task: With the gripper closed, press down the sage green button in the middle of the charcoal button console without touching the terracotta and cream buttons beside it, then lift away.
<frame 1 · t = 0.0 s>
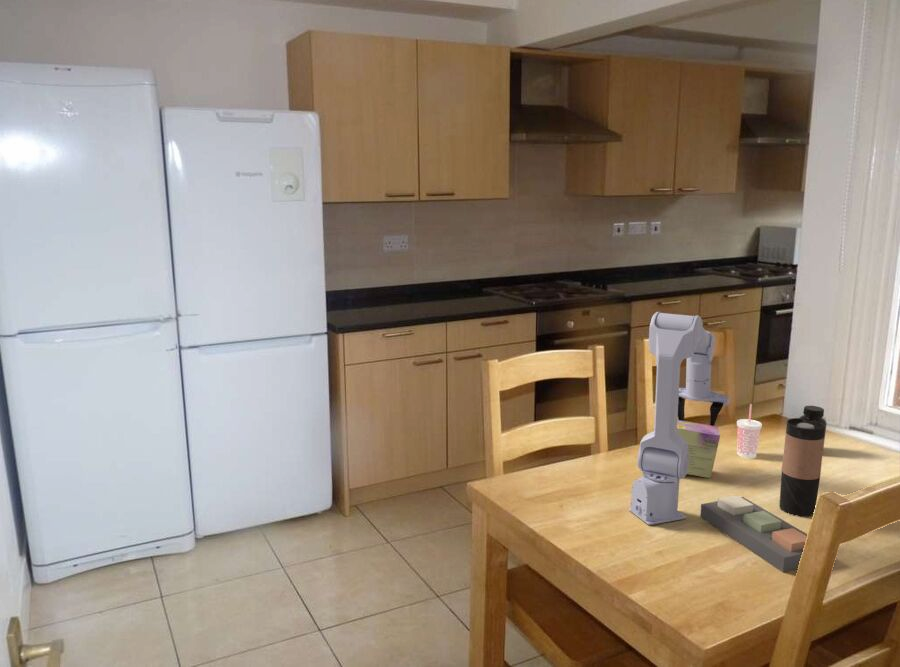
hand: (696, 426, 185), 11 cm above the table, tool pointing down, fingers open, 7 cm apart
supplement bottle: (809, 451, 197), on the table
console: (760, 538, 149), on the table
terracotta button: (791, 540, 141), point 4 cm above the table, slide at 0.0 cm
box: (687, 470, 182), point 1 cm above the table, touching gripper
beverage cup: (746, 455, 194), on the table
cream button: (735, 505, 156), point 4 cm above the table, slide at 0.0 cm
travel mug: (796, 510, 162), on the table
sage button: (762, 522, 149), point 4 cm above the table, slide at 0.0 cm
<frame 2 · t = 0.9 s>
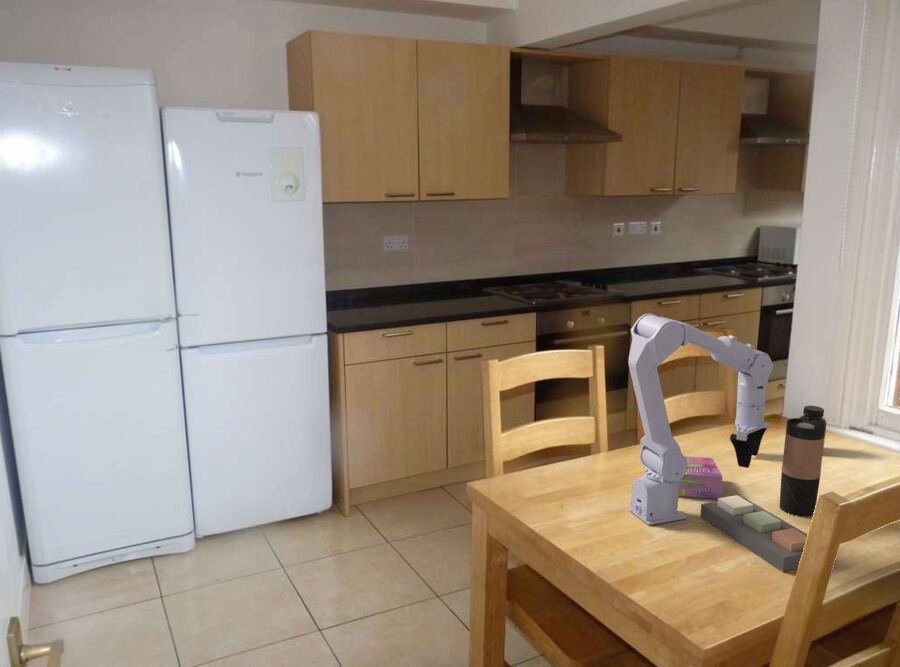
hand: (747, 460, 164), 10 cm above the table, tool pointing down, fingers open, 7 cm apart
box: (689, 466, 179), point 3 cm above the table
everything else where it was.
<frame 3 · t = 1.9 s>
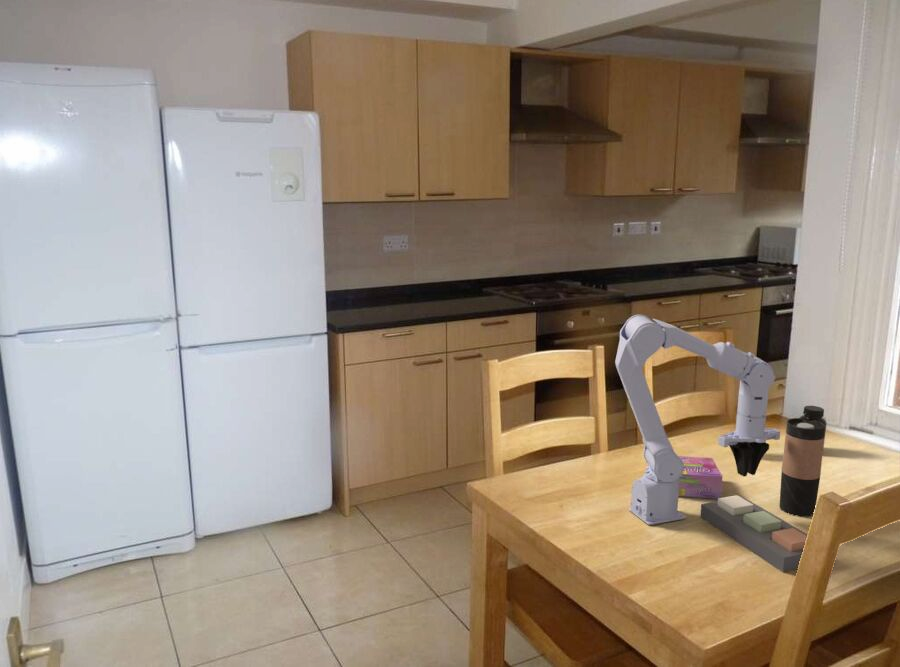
hand: (746, 473, 158), 9 cm above the table, tool pointing down, fingers closed
nothing on the table moved.
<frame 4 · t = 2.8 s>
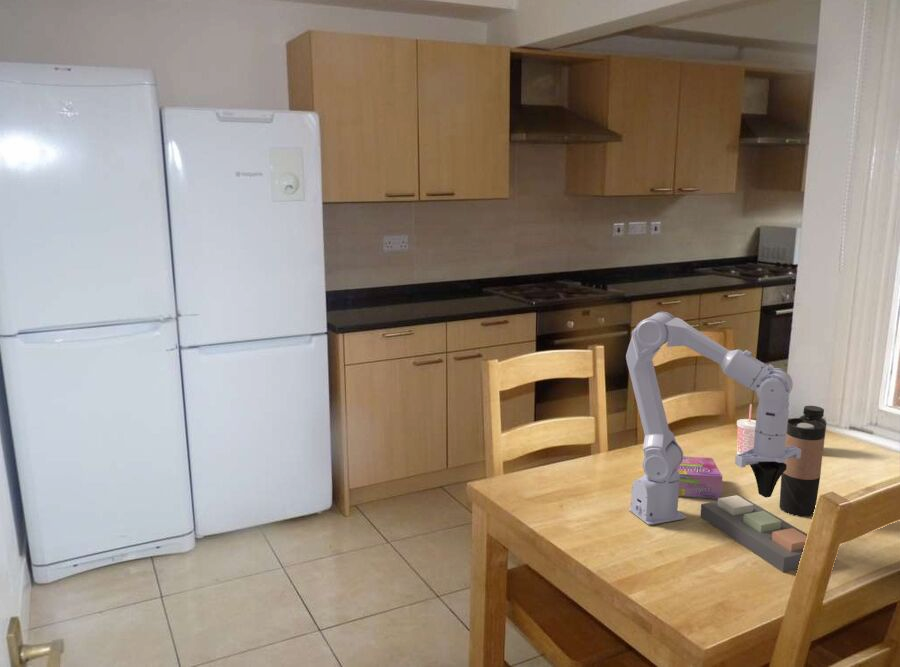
hand: (764, 495, 148), 9 cm above the table, tool pointing down, fingers closed
nothing on the table moved.
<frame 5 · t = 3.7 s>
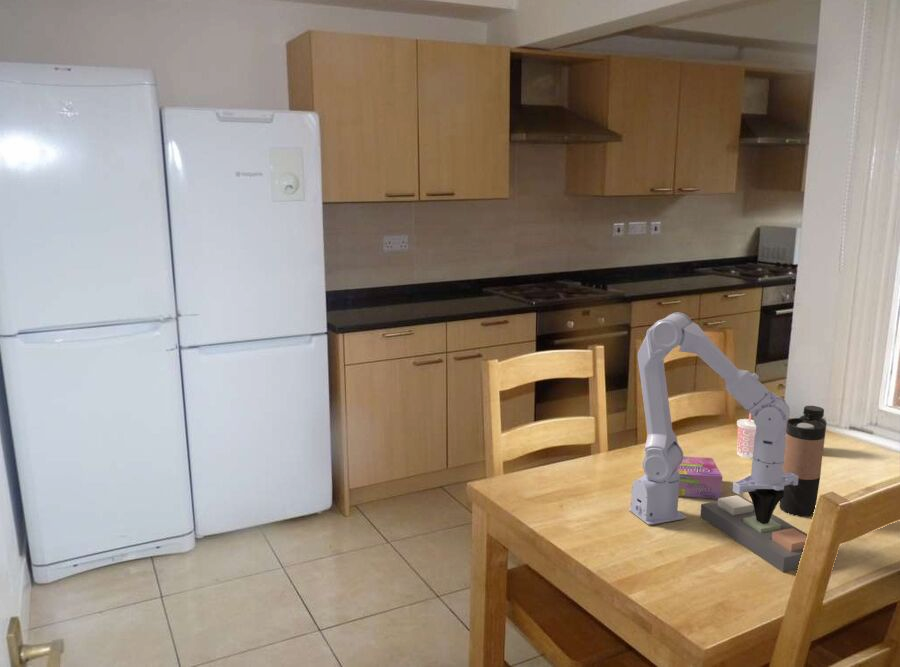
hand: (762, 521, 149), 4 cm above the table, tool pointing down, fingers closed, pressing on sage button
sage button: (761, 526, 149), point 3 cm above the table, slide at 0.8 cm, touching gripper
everything else where it was.
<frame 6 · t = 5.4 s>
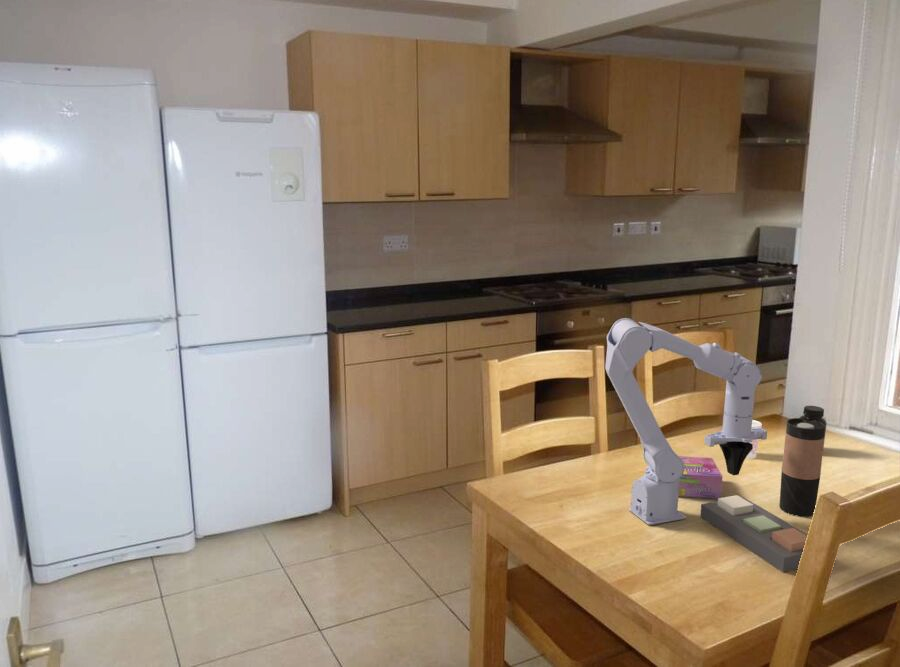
hand: (732, 473, 159), 9 cm above the table, tool pointing down, fingers closed
sage button: (761, 527, 149), point 2 cm above the table, slide at 1.0 cm
everything else where it was.
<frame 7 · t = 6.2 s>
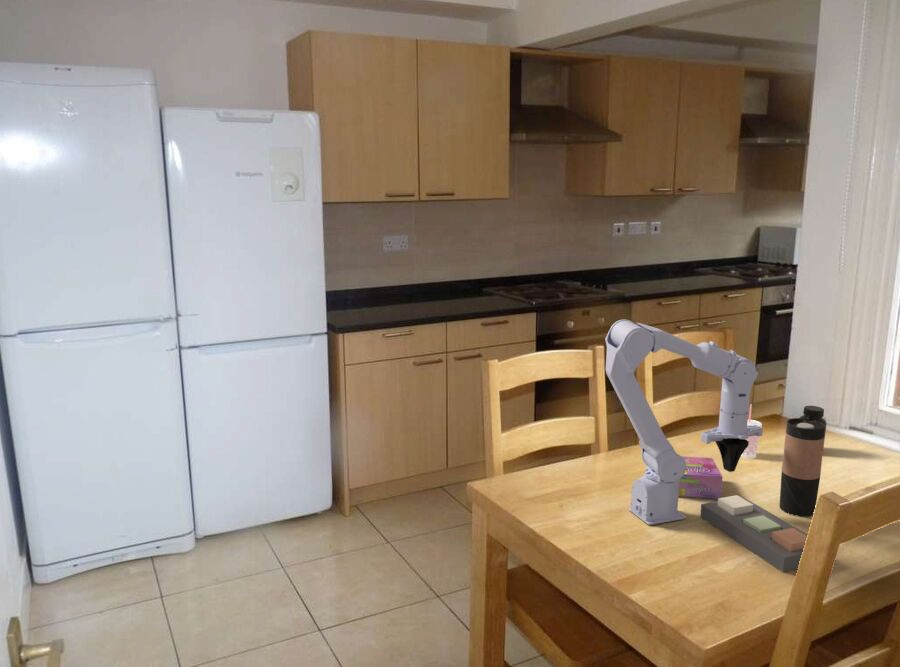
hand: (729, 470, 160), 9 cm above the table, tool pointing down, fingers closed
nothing on the table moved.
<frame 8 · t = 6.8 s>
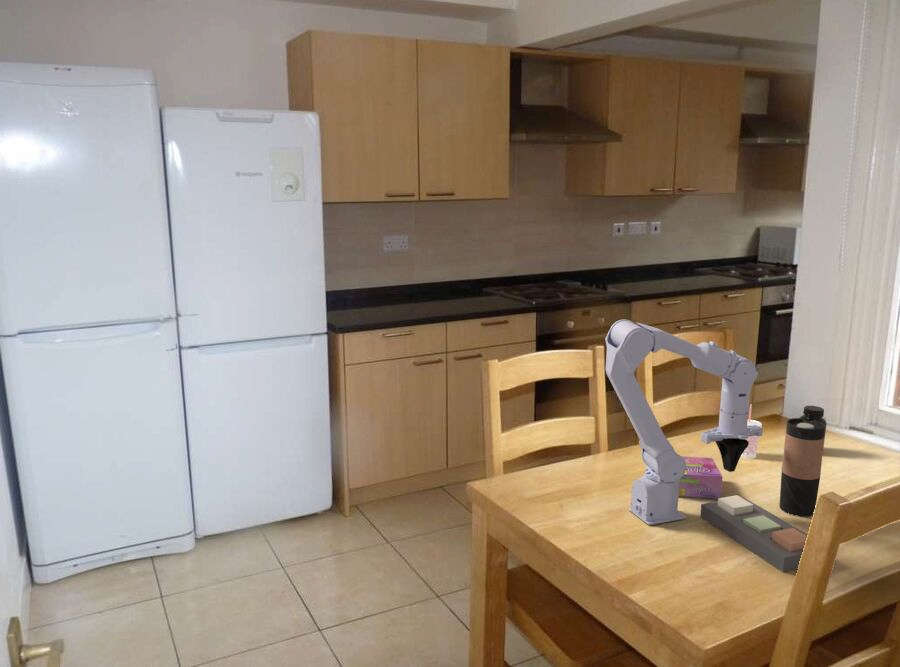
hand: (729, 470, 160), 9 cm above the table, tool pointing down, fingers closed
nothing on the table moved.
at the end: sage button slide at 1.0 cm; terracotta button slide at 0.0 cm; cream button slide at 0.0 cm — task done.
